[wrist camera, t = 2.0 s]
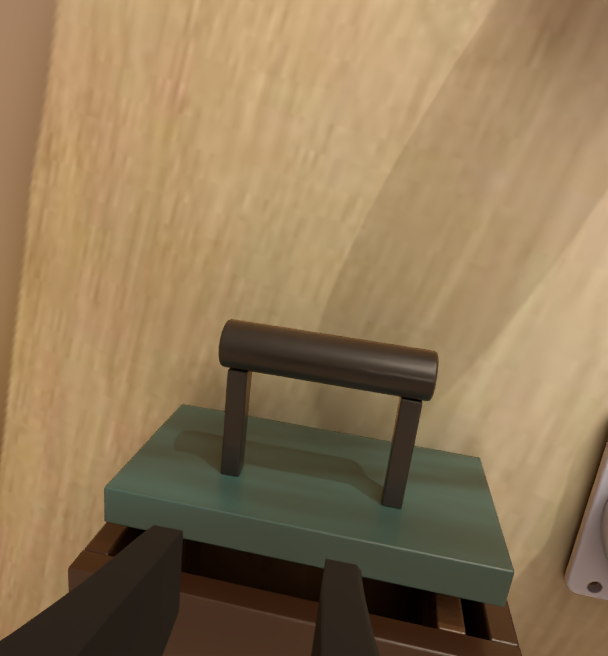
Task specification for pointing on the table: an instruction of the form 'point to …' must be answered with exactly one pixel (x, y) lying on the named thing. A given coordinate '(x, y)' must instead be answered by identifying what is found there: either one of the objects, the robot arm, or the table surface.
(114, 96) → the table surface
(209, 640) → the cabinet
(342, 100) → the table surface
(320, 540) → the drawer
